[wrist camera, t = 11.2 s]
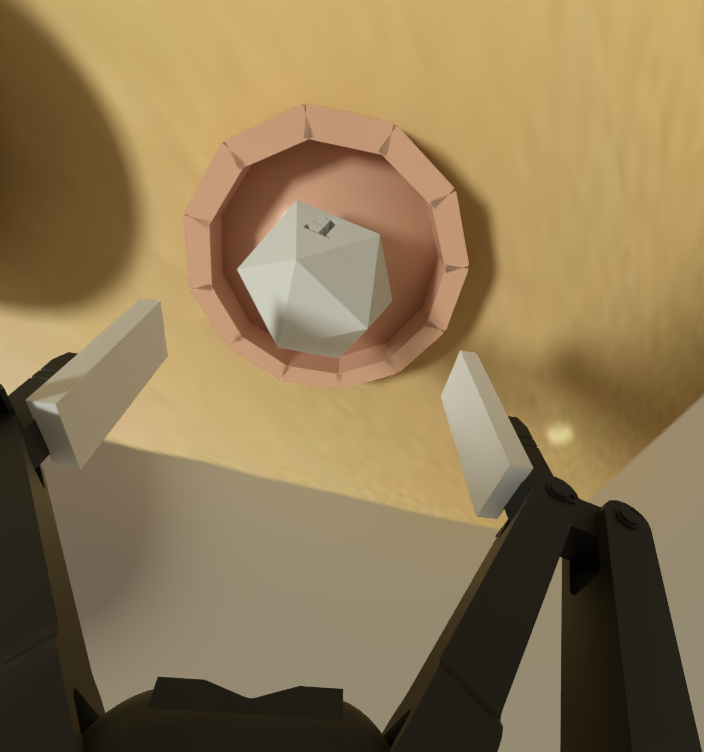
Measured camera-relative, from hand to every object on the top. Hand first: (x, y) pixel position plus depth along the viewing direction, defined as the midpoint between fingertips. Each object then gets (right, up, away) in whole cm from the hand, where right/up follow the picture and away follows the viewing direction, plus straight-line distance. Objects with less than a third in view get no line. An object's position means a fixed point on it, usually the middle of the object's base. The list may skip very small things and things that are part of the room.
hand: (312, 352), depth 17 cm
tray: (0, +7, +11) cm, 13 cm away
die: (0, +7, +10) cm, 12 cm away
